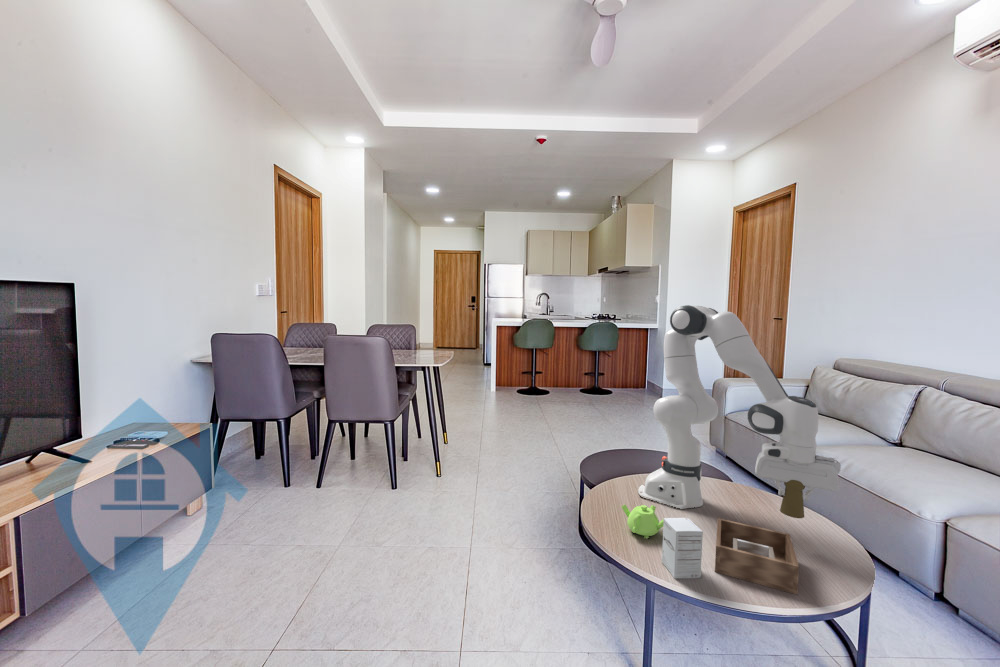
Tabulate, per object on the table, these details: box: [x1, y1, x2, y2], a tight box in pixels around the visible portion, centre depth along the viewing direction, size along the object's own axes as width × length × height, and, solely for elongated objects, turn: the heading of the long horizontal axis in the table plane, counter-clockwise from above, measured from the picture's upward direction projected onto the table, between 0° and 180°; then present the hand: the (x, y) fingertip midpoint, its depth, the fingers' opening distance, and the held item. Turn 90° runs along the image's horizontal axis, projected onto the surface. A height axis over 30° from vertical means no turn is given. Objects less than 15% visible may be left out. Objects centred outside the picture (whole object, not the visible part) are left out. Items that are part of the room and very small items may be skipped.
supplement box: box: [661, 517, 704, 579], centre depth 111 cm, size 7×7×13 cm
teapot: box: [620, 504, 664, 539], centre depth 131 cm, size 11×12×8 cm
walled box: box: [714, 517, 800, 595], centre depth 115 cm, size 18×18×7 cm
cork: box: [779, 480, 806, 519], centre depth 125 cm, size 6×6×11 cm
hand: (792, 497), depth 125 cm, fingers open, 4 cm apart
